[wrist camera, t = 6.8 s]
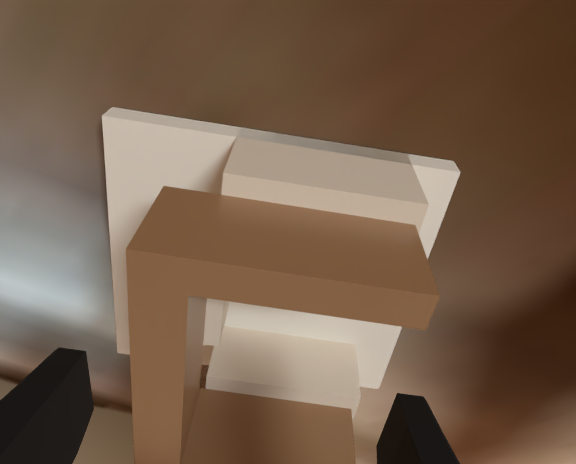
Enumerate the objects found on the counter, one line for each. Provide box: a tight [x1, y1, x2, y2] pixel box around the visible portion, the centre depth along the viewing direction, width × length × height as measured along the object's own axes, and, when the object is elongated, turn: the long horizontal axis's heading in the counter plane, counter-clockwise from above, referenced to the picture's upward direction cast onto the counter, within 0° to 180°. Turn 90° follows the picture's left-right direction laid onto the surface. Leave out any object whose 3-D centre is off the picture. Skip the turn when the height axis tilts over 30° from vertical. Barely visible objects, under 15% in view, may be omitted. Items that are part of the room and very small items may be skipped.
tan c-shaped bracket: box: [126, 186, 440, 464], centre depth 16 cm, size 8×10×4 cm
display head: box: [102, 107, 460, 422], centre depth 19 cm, size 13×12×4 cm
